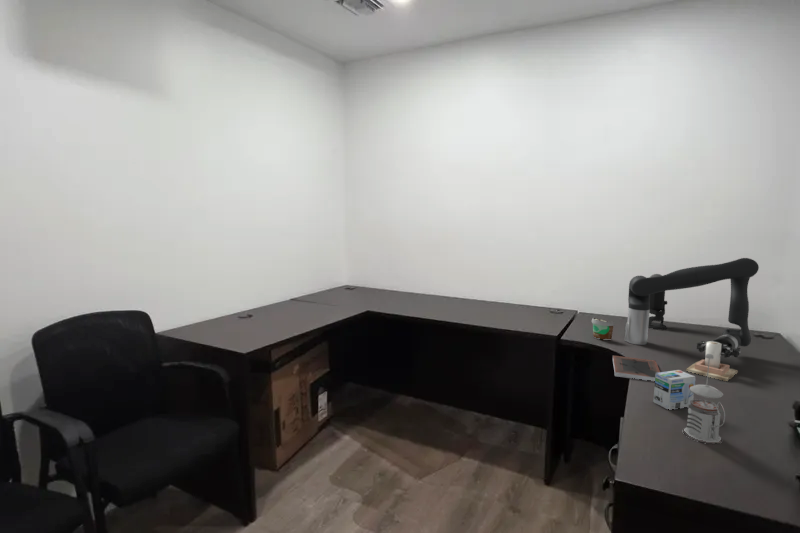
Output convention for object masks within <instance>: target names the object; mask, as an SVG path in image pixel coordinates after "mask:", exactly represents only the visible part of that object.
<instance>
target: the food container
mask: <svg viewBox="0 0 800 533" xmlns="http://www.w3.org/2000/svg"><path fill="white" fill-rule="evenodd" d="M591 323H592V332H593V334H592V337H593V336H594V337H596V338H600V339H611V340H612V339H613V338H612V336H613V332H614V331H613V330H614V327H615V326H616V324H615V321H608V320H605V319H600V318H597V317H596V316H593V317H592V319H591ZM594 337H593V338H594Z"/></svg>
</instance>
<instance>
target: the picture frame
mask: <svg viewBox="0 0 800 533" xmlns="http://www.w3.org/2000/svg"><path fill="white" fill-rule="evenodd" d="M612 364H613V370H614V377H618V378H619V377H620V378H626V379H632V378H633V380H639V379H642V380H641V381H647V380H651V381H650V382H654V381H655V376H656V373H659V372H661V370H660V368H659V366H658V364H657V362H656V360H652V359H643V358H637V357H628V356H621V355H620V356H619V355H612ZM634 378H635V379H634Z"/></svg>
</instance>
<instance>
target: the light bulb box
mask: <svg viewBox="0 0 800 533" xmlns="http://www.w3.org/2000/svg"><path fill="white" fill-rule="evenodd" d="M694 385H696V376H695V375H692V374H691V373H689V372H686V371H682V370H681V369H676V370H675V369H674V370H668V371H660V372H659V373H656V376H655V382H654V388H653V389H654V390H653V391H654V392H653V403H654V404H656V405H657V406H659V407H662V408H664V409H665V410H668V409H669V410H668V411H673V410H672V409H674V410H678V408H680V409H685V408H684V407H687V408H689V405H690V404H691V402H690V401H691V400H694V397H695V396H694V395H695V394H694V393H692V392H691V391H690V387H691V386H694Z"/></svg>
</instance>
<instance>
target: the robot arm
mask: <svg viewBox="0 0 800 533" xmlns="http://www.w3.org/2000/svg"><path fill="white" fill-rule="evenodd" d="M759 268H760V267H759V263H758V262H757V261H756V260H754V259H752V258H749V257H741V258H738V259H735V260H734V259H733V260H731V261H728V262H722V263H718V264H709V265H701V266H693V267H686V268H682V269H677V270H674V271H672V272H670V273H667V274H663V275H662V276H658V277H646V276H643V275H636V276H633V277H632V278H631V279H630V281H629V284H628V285H629V286H628V298H627V299H628V308H627V310H628V311H627V312H628V313H627V322H625V329H624V342H626V343H629V344H631V345H640V346H641V345H642V346H643V345H647V344H648V337H649V336H648V335H649V328H648V325H649V317H650V313H649V311H650V302H649V295H650V294H654V293H658V292H662V291H665V292H666V291H674V290H682V289H683V290H684V289H691V288H696V287H702V286H704V285H710V284H713V283H717V282H720V281H724V280H730V298H729V307H728V308H729V309H728V319H727V321H728V322H729V323H730V324H732V325H736V326H738V327H739V328H740V329H732V328H726V329H723V331H722V334H721V335H719V336H718V337H716V338H715V339H713V340H712V342H718V343H721V344H722V345H721V356H723V358H725V359H727V358H732V357H734V358H738V357H739V356H740V355H741V348H740V347H748V346H749V345H750V344H751V343H752V336H751V332H750V327H749V310H750V305H749V303H750V302H749V296H748V295H749V294H748V289H749V288H748V287H749V282H750V279H751V278H752V277H754V276H755V275H756V274H757V273H758V272H759ZM696 350H698V352H699V353H703V352H706V341H704V340H701V341H699V342H697V343H696Z"/></svg>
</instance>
